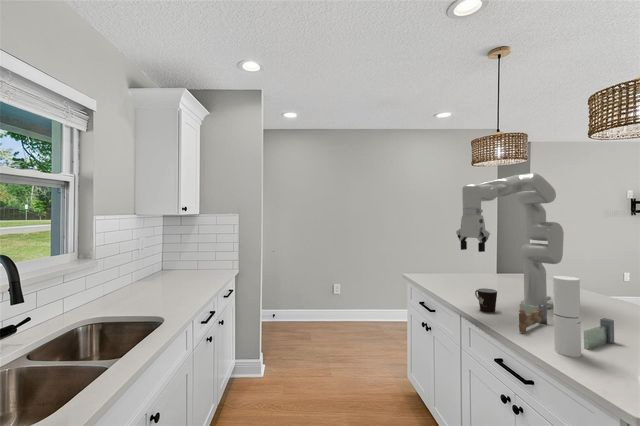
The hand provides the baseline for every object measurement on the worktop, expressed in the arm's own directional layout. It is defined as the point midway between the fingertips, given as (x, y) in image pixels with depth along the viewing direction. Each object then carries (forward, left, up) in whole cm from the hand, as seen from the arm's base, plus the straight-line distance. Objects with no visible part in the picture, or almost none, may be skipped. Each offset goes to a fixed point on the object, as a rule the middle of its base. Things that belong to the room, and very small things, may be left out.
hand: (472, 250), depth 144 cm
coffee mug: (-17, -7, -31) cm, 36 cm away
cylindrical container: (+1, +38, -31) cm, 49 cm away
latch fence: (-15, +39, -31) cm, 52 cm away
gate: (-10, +19, -30) cm, 37 cm away
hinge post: (-21, +13, -31) cm, 39 cm away
